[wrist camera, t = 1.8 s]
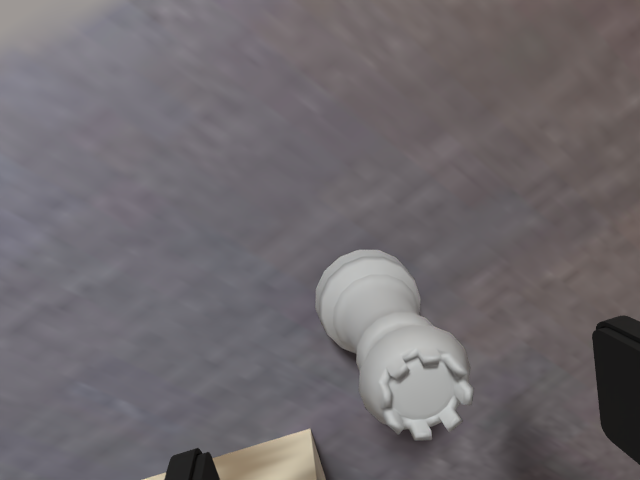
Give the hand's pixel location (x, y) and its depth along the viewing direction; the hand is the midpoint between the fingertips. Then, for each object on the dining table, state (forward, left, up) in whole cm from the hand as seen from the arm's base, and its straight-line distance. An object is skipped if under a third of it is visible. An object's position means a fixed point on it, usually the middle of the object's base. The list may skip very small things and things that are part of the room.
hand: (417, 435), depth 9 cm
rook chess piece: (-1, 0, -9) cm, 9 cm away
